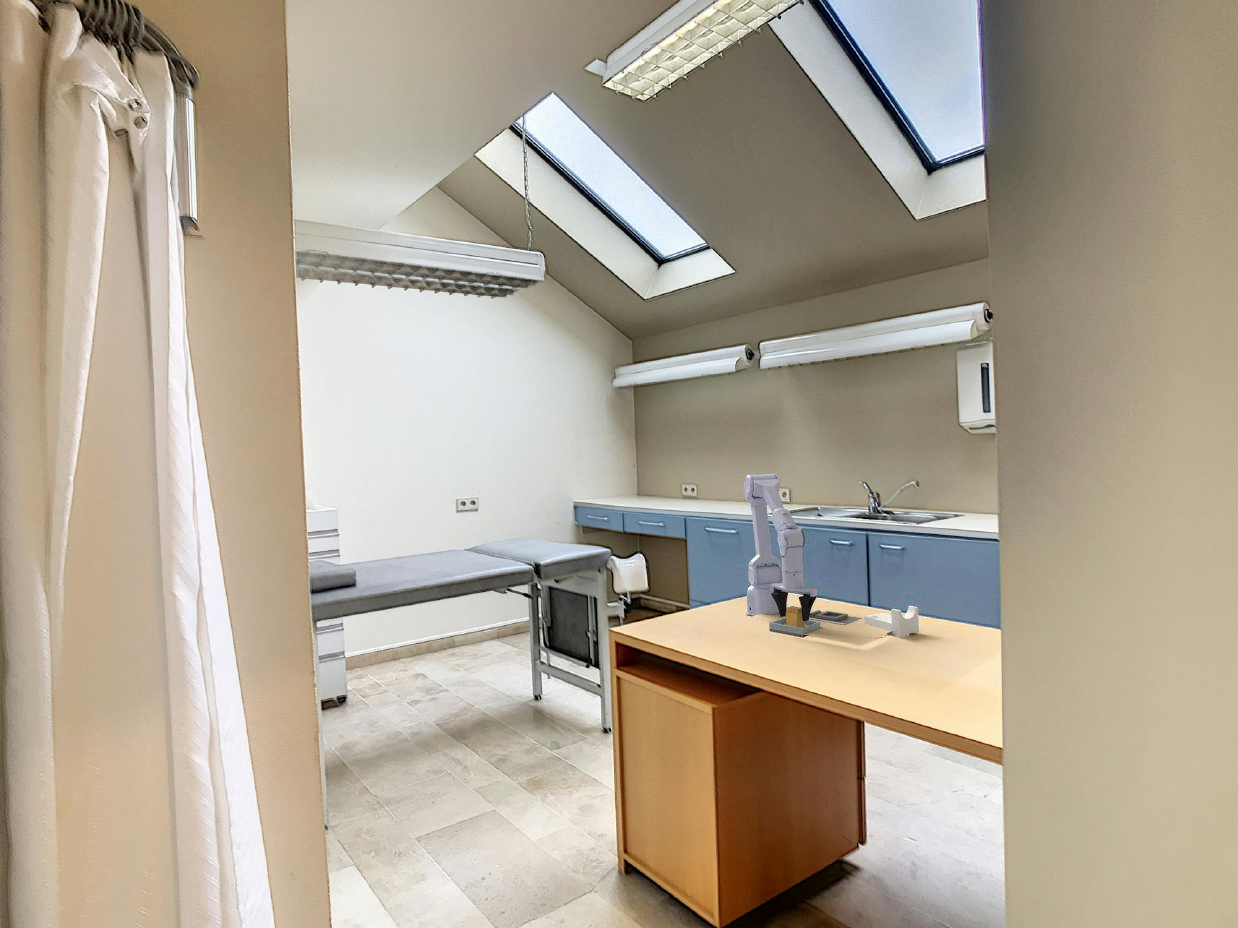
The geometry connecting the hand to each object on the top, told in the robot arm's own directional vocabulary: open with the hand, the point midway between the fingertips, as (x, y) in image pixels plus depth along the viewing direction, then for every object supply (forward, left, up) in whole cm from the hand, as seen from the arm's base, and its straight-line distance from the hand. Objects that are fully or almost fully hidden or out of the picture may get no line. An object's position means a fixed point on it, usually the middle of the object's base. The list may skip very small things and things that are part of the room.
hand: (794, 618), depth 202 cm
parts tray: (0, 0, -4) cm, 4 cm away
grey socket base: (+3, +15, -4) cm, 16 cm away
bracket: (+21, +16, -4) cm, 27 cm away
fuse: (0, 0, -3) cm, 3 cm away
